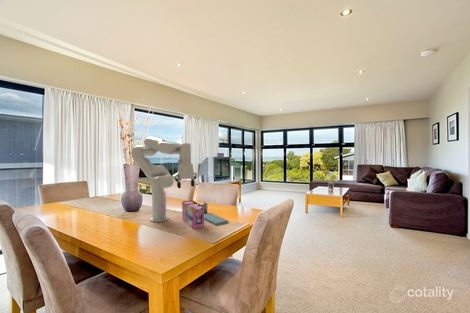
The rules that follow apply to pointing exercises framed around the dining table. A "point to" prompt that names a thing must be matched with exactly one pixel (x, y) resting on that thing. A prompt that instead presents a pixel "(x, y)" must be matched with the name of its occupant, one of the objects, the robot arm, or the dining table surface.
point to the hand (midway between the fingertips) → (186, 187)
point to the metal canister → (204, 207)
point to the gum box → (193, 214)
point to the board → (214, 219)
